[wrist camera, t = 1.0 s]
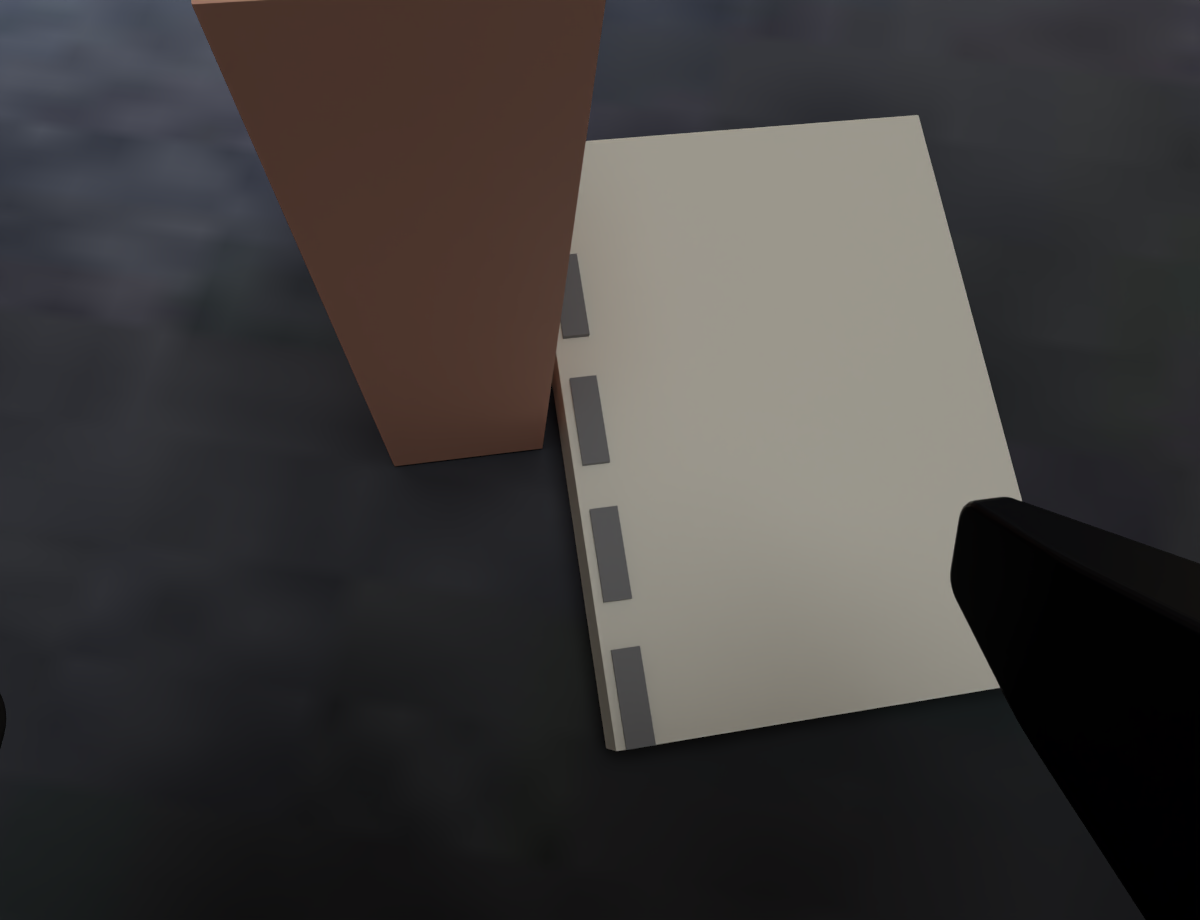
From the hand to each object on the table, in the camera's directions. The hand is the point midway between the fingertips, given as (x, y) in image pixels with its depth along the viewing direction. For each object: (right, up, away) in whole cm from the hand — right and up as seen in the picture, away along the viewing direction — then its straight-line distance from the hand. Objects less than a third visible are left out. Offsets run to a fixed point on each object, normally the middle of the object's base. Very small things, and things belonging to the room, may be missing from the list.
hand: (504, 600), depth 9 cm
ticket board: (+5, +2, +15) cm, 16 cm away
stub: (-3, +4, +15) cm, 15 cm away
